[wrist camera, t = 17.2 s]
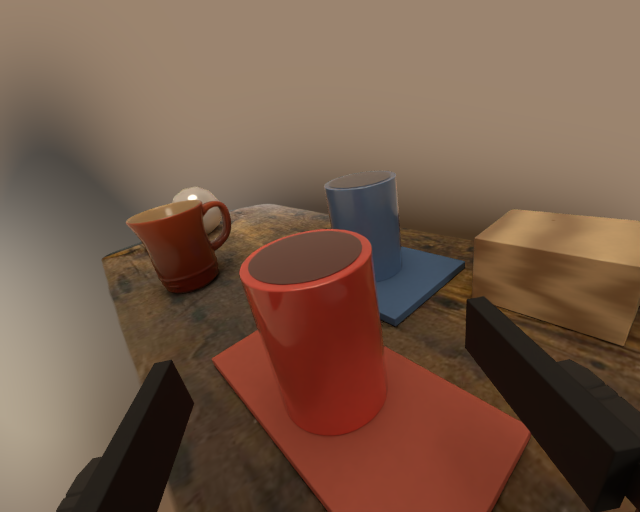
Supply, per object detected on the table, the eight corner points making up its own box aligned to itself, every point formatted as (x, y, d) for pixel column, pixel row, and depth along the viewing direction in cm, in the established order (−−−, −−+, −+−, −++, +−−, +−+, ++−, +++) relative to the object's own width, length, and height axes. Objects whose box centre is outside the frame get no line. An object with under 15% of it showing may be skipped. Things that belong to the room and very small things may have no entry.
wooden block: (644, 293, 24) (667, 223, 21) (623, 347, 20) (649, 268, 17) (506, 263, 31) (511, 208, 29) (471, 298, 27) (473, 237, 25)
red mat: (530, 437, 16) (532, 427, 16) (425, 637, 11) (424, 629, 10) (305, 307, 31) (303, 301, 30) (214, 365, 26) (211, 358, 25)
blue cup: (415, 260, 34) (410, 170, 30) (373, 290, 30) (361, 191, 26) (367, 248, 39) (357, 169, 35) (326, 271, 35) (309, 187, 31)
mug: (172, 309, 36) (134, 228, 31) (153, 287, 42) (119, 218, 38) (257, 266, 42) (236, 194, 38) (230, 253, 48) (209, 190, 44)
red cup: (410, 380, 20) (400, 240, 15) (330, 464, 16) (288, 309, 12) (336, 334, 25) (313, 221, 21) (263, 389, 21) (217, 264, 17)
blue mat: (464, 267, 32) (465, 261, 32) (395, 326, 26) (395, 319, 25) (366, 243, 42) (365, 237, 42) (299, 280, 36) (298, 275, 36)
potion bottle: (233, 230, 64) (166, 267, 57) (207, 202, 67) (140, 234, 60) (230, 199, 56) (152, 237, 49) (201, 169, 59) (123, 201, 52)
